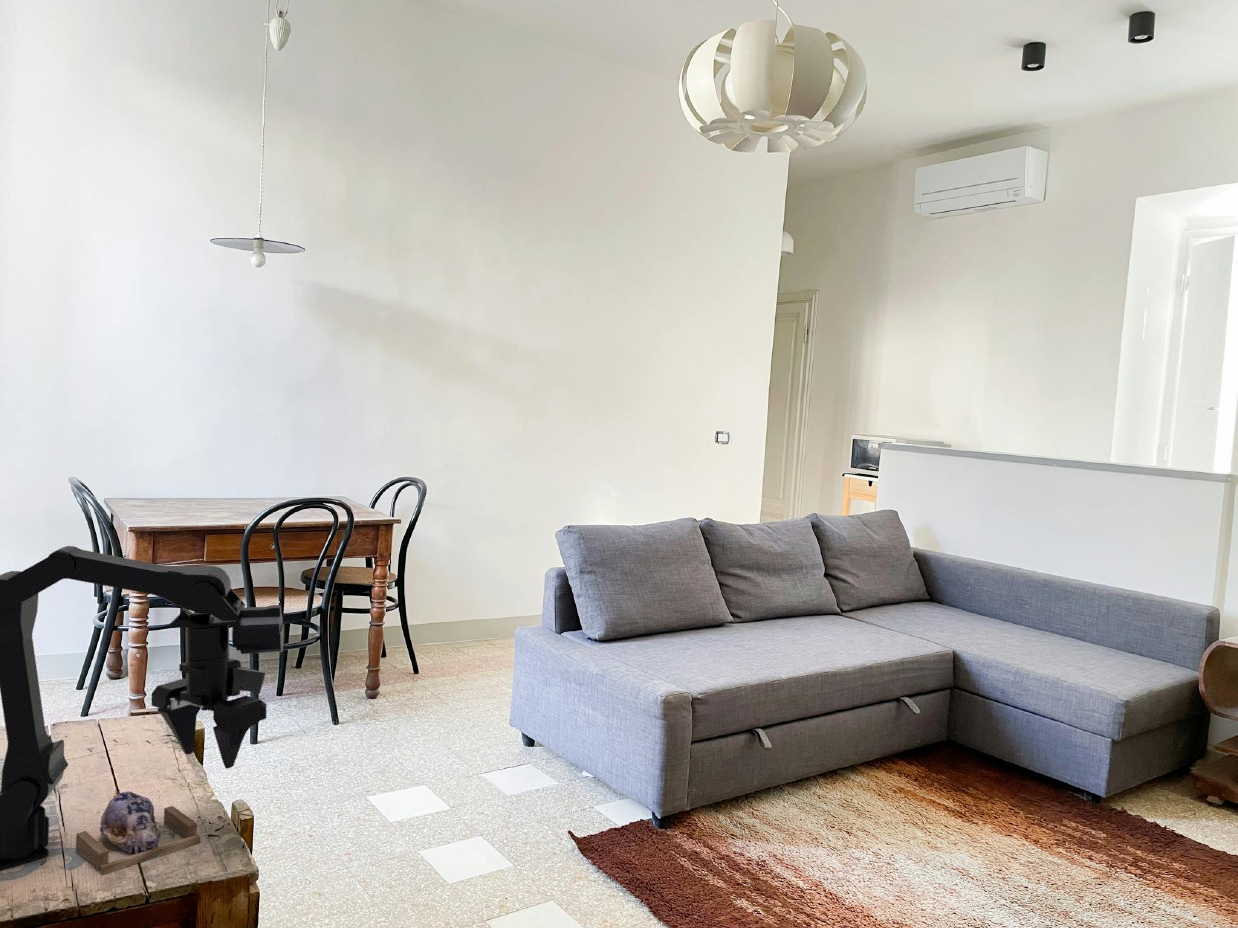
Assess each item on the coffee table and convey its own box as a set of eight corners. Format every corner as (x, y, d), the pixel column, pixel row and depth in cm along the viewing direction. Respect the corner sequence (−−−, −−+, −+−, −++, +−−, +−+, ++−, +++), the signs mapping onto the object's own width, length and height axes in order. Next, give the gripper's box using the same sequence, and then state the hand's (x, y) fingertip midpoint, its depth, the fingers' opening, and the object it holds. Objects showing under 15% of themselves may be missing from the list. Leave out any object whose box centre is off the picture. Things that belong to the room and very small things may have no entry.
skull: (171, 853, 131) (172, 811, 131) (111, 867, 126) (112, 824, 126) (151, 820, 140) (152, 781, 140) (94, 833, 136) (95, 792, 135)
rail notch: (102, 874, 124) (102, 856, 124) (75, 850, 130) (76, 833, 130) (200, 842, 134) (201, 825, 134) (171, 821, 140) (172, 805, 140)
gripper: (297, 652, 134) (297, 756, 136) (215, 633, 144) (217, 730, 145) (230, 671, 125) (232, 782, 126) (148, 649, 134) (150, 753, 135)
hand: (209, 760), depth 133 cm, fingers open, 9 cm apart
